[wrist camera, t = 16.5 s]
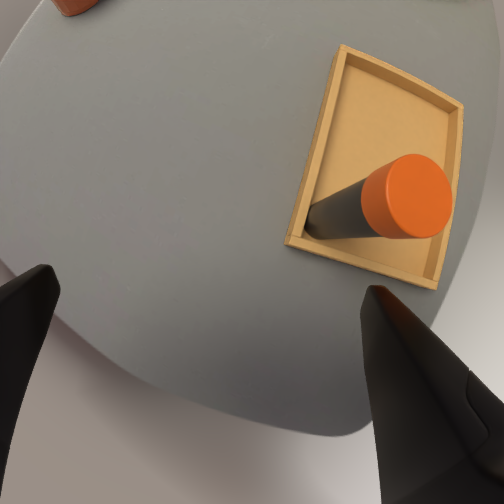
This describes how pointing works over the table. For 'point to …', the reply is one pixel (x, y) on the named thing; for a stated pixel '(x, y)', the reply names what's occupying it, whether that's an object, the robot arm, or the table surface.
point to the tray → (377, 159)
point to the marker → (387, 204)
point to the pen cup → (73, 6)
